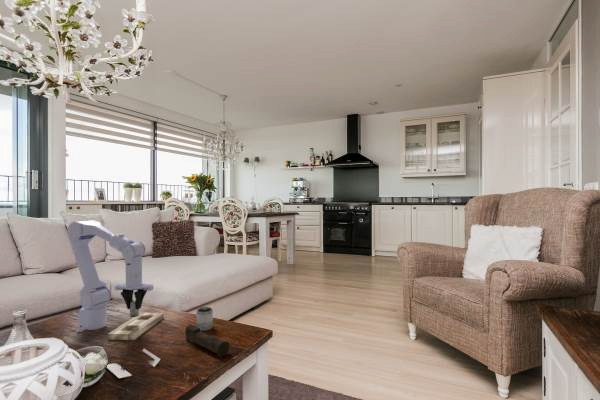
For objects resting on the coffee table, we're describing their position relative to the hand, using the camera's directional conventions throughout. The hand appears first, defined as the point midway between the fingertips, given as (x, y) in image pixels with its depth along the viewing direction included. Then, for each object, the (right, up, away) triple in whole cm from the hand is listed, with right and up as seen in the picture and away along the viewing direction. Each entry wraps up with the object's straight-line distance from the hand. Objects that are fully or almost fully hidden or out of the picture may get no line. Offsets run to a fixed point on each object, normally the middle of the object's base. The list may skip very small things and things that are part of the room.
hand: (134, 308), depth 126 cm
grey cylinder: (0, -3, 0) cm, 3 cm away
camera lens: (+26, -9, +4) cm, 28 cm away
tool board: (0, -9, +2) cm, 10 cm away
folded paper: (+13, -10, -25) cm, 30 cm away
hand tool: (+31, -9, -13) cm, 35 cm away
